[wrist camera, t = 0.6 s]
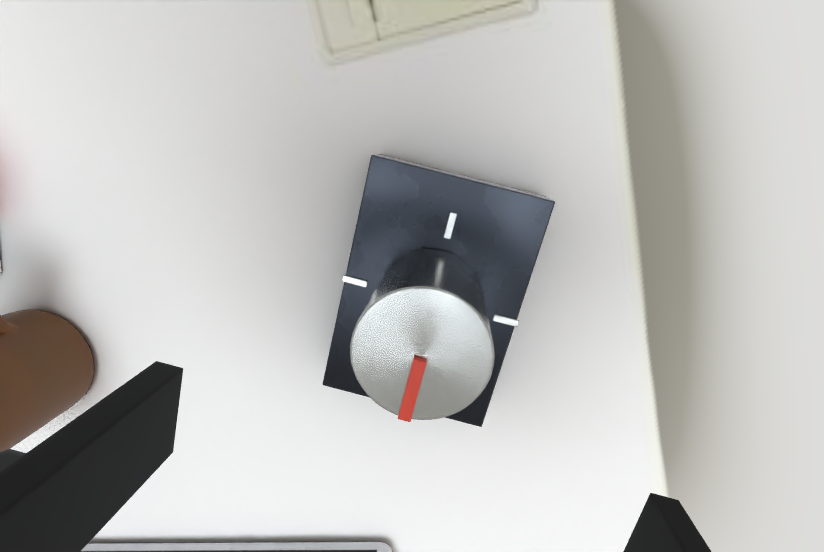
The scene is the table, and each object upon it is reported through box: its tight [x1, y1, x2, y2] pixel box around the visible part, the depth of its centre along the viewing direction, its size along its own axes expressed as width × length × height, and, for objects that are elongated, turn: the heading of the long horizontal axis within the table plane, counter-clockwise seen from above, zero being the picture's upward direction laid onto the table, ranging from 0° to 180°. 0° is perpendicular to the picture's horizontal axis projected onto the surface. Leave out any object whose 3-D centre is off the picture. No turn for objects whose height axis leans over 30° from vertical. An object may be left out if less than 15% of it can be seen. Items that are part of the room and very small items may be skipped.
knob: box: [350, 249, 494, 422], centre depth 23 cm, size 6×6×8 cm
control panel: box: [323, 154, 555, 427], centre depth 28 cm, size 14×10×3 cm
